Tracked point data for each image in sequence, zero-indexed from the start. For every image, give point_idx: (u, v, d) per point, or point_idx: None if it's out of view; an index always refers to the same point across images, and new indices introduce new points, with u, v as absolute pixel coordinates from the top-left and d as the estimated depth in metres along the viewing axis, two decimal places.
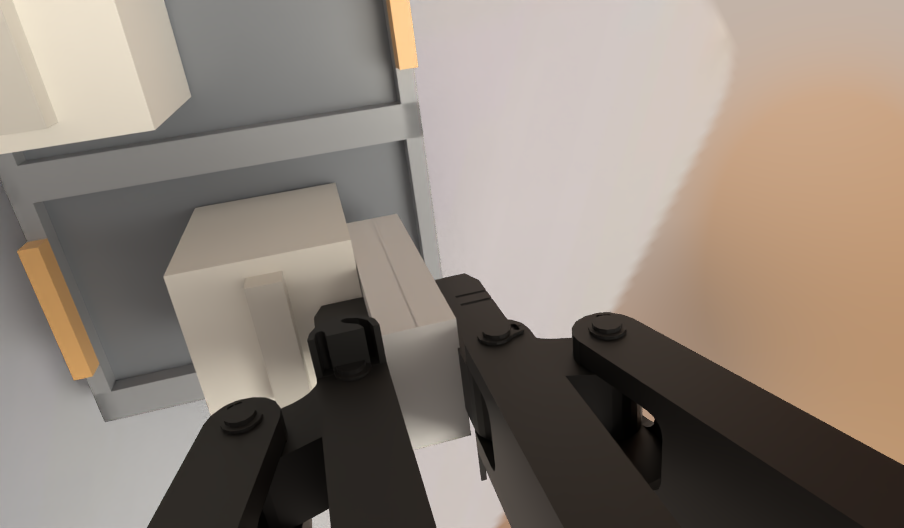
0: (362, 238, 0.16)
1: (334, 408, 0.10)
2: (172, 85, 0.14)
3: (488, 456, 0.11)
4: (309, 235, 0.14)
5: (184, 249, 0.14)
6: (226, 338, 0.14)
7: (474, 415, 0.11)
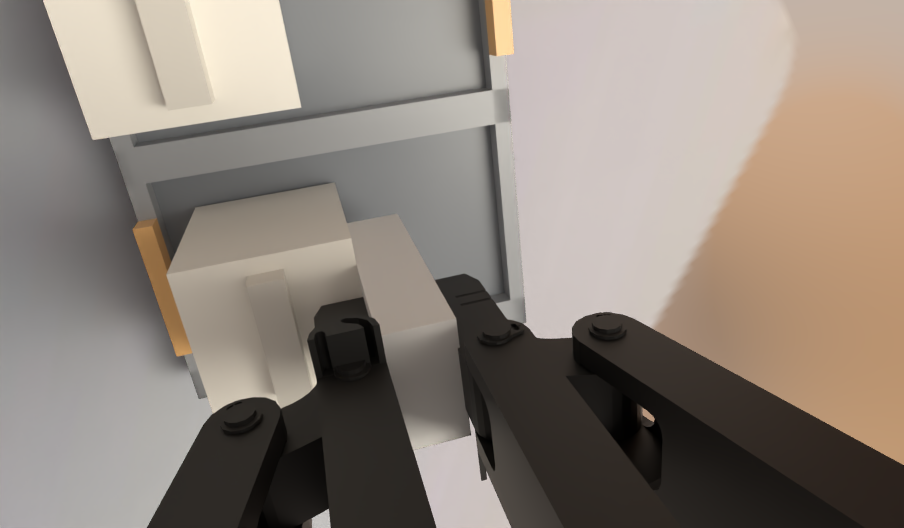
0: (362, 238, 0.16)
1: (334, 408, 0.10)
2: None
3: (488, 456, 0.11)
4: (310, 233, 0.15)
5: (186, 247, 0.15)
6: (229, 336, 0.14)
7: (474, 415, 0.11)
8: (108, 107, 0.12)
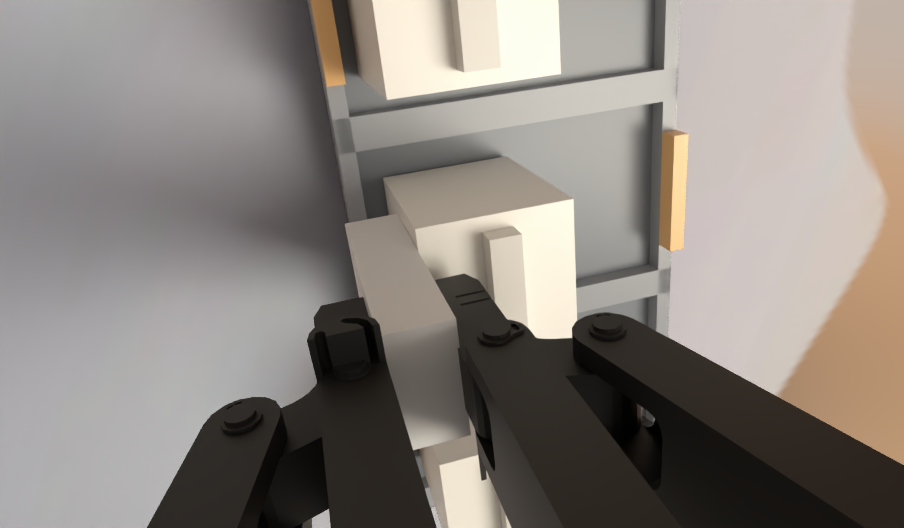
0: (362, 238, 0.16)
1: (334, 408, 0.10)
2: None
3: (488, 456, 0.11)
4: None
5: None
6: (474, 504, 0.18)
7: (474, 415, 0.11)
8: None
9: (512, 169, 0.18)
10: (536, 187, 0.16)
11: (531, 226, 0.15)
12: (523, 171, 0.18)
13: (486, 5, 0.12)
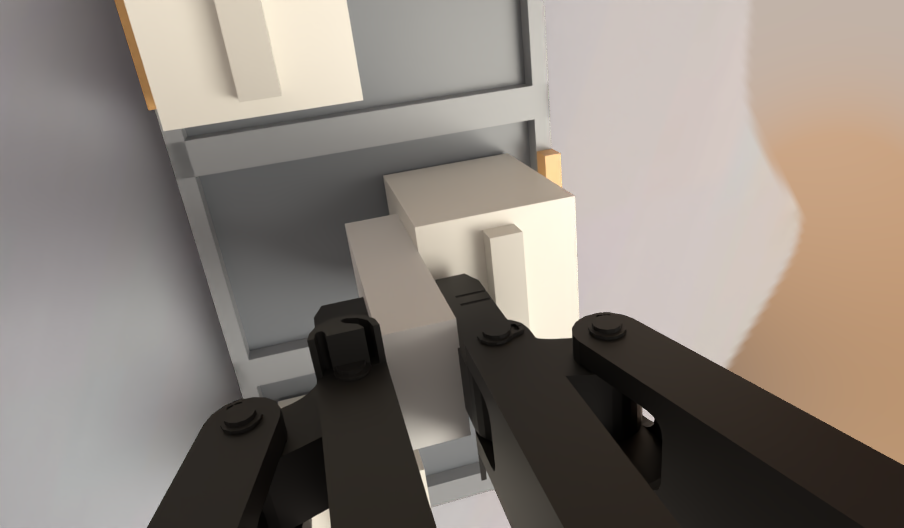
0: (362, 238, 0.16)
1: (334, 408, 0.10)
2: None
3: (488, 456, 0.11)
4: None
5: None
6: None
7: (474, 415, 0.11)
8: None
9: (513, 166, 0.18)
10: (537, 184, 0.16)
11: (532, 224, 0.15)
12: (524, 168, 0.18)
13: (255, 30, 0.11)
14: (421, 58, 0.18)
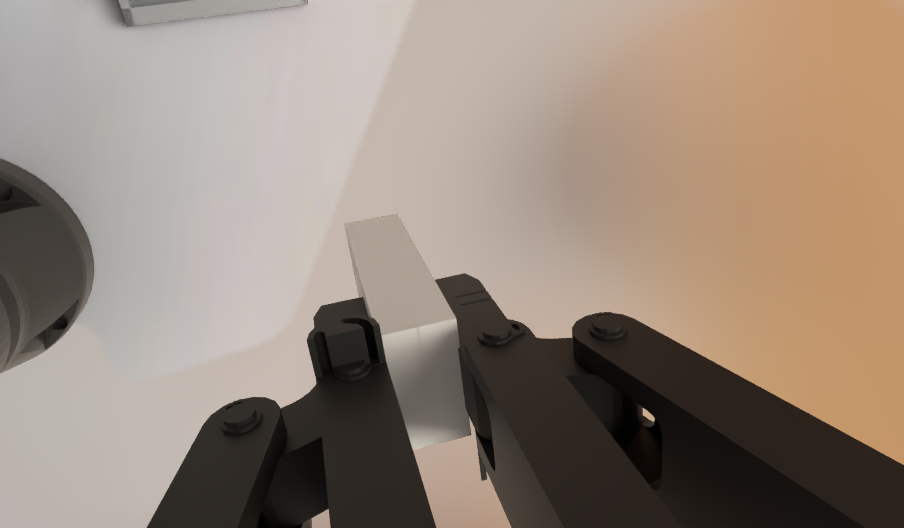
0: (361, 238, 0.16)
1: (333, 408, 0.10)
2: None
3: (488, 456, 0.11)
4: None
5: None
6: None
7: (474, 415, 0.11)
8: None
9: None
10: None
11: None
12: None
13: None
14: None
